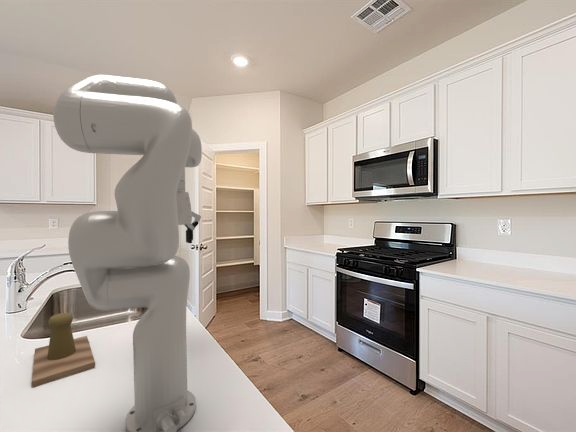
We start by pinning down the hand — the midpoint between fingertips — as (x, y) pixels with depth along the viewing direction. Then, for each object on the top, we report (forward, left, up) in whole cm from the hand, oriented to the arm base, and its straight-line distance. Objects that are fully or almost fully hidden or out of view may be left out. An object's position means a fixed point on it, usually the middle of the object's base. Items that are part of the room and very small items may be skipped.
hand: (173, 244), depth 83 cm
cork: (+12, +26, -29) cm, 41 cm away
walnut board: (+11, +26, -30) cm, 41 cm away
